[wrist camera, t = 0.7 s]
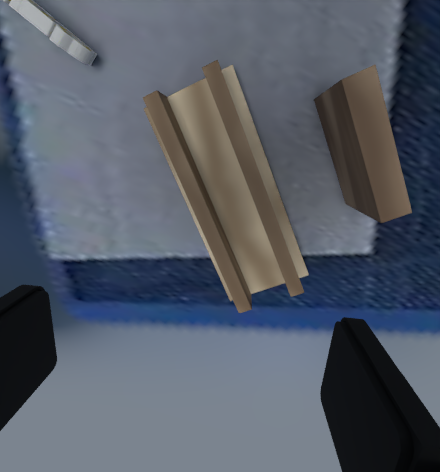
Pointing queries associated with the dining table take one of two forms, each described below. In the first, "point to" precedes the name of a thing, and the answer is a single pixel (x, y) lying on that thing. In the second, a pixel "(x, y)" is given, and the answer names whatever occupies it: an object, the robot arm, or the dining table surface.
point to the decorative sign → (53, 30)
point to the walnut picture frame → (363, 146)
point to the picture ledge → (227, 184)
